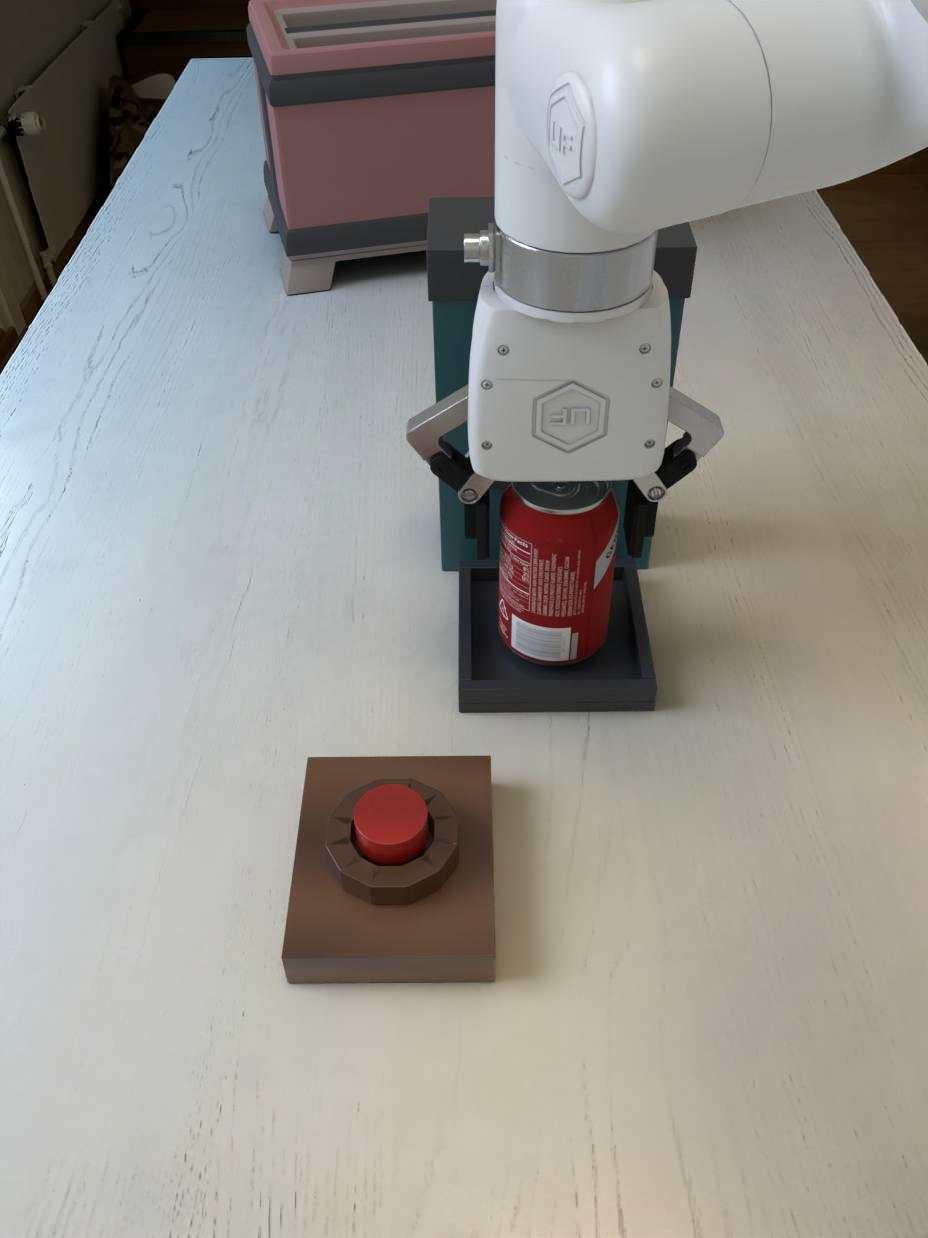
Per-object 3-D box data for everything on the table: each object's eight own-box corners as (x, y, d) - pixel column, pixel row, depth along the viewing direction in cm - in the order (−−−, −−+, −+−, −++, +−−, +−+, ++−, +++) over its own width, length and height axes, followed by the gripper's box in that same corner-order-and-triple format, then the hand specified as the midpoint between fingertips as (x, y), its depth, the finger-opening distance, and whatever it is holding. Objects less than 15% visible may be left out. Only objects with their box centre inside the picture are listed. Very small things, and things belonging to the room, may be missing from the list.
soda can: (573, 689, 65) (586, 533, 57) (478, 646, 68) (476, 491, 59) (625, 622, 69) (644, 467, 61) (533, 584, 72) (539, 431, 63)
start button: (427, 865, 53) (426, 844, 52) (353, 865, 53) (350, 844, 52) (429, 804, 56) (428, 783, 54) (359, 805, 56) (356, 784, 54)
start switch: (495, 982, 52) (495, 939, 50) (287, 983, 52) (276, 940, 50) (490, 782, 61) (490, 736, 58) (312, 783, 61) (304, 737, 58)
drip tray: (654, 711, 65) (657, 688, 63) (458, 712, 65) (458, 689, 63) (632, 580, 73) (635, 558, 72) (459, 582, 73) (458, 559, 72)
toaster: (628, 251, 108) (650, 24, 94) (286, 295, 103) (255, 60, 88) (568, 177, 122) (579, -32, 108) (263, 212, 116) (232, -4, 102)
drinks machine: (651, 572, 74) (697, 246, 58) (438, 574, 74) (426, 249, 58) (639, 510, 79) (679, 193, 63) (440, 512, 79) (429, 196, 63)
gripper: (384, 297, 49) (405, 588, 61) (776, 292, 48) (718, 585, 60) (392, 225, 54) (409, 505, 66) (744, 220, 54) (697, 502, 66)
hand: (557, 542), depth 63 cm, fingers open, 8 cm apart
